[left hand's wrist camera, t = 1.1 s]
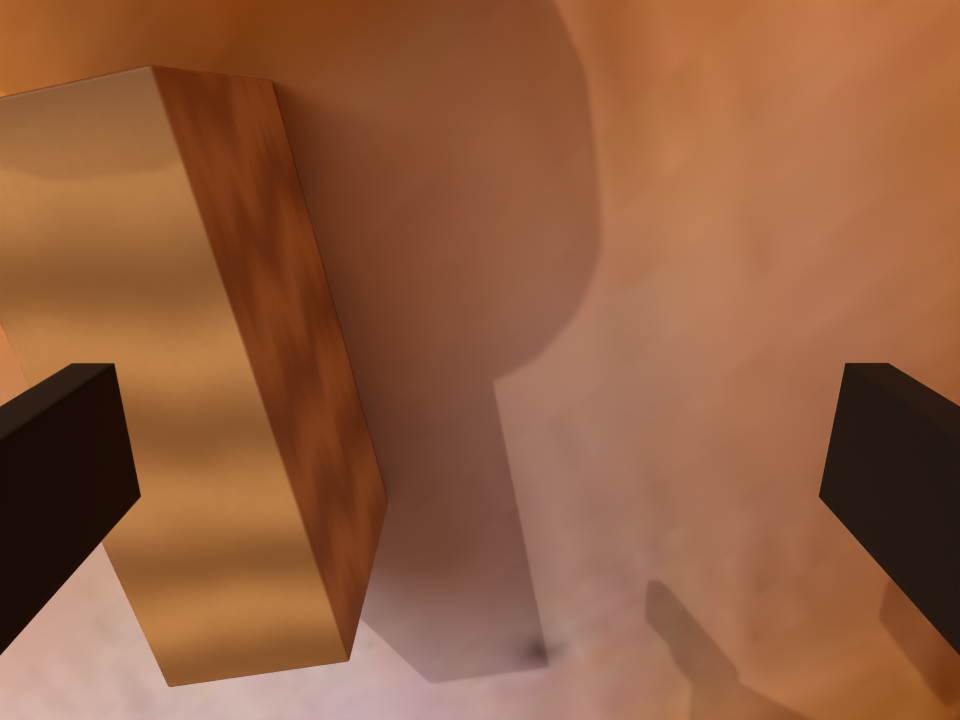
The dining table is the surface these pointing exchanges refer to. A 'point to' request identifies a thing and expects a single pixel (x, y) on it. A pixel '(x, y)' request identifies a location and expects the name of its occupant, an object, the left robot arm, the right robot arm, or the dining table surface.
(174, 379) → the box
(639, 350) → the dining table surface
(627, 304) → the dining table surface
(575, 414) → the dining table surface
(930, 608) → the left robot arm
